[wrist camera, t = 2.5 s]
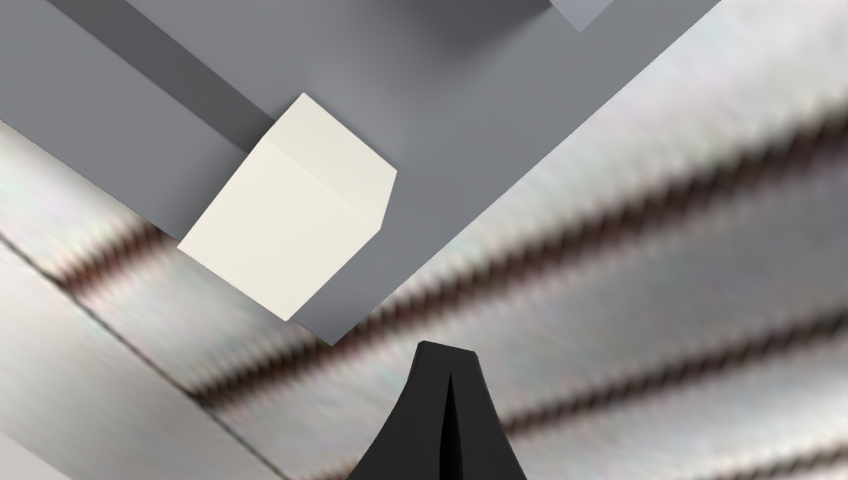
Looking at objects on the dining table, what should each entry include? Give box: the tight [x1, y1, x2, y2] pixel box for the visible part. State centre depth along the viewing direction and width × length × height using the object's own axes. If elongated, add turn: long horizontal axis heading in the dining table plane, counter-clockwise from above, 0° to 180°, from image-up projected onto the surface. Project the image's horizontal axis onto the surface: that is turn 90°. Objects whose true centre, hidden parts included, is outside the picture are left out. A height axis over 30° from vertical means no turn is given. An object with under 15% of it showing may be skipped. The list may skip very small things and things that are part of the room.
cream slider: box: [177, 92, 397, 321], centre depth 13 cm, size 3×4×3 cm
